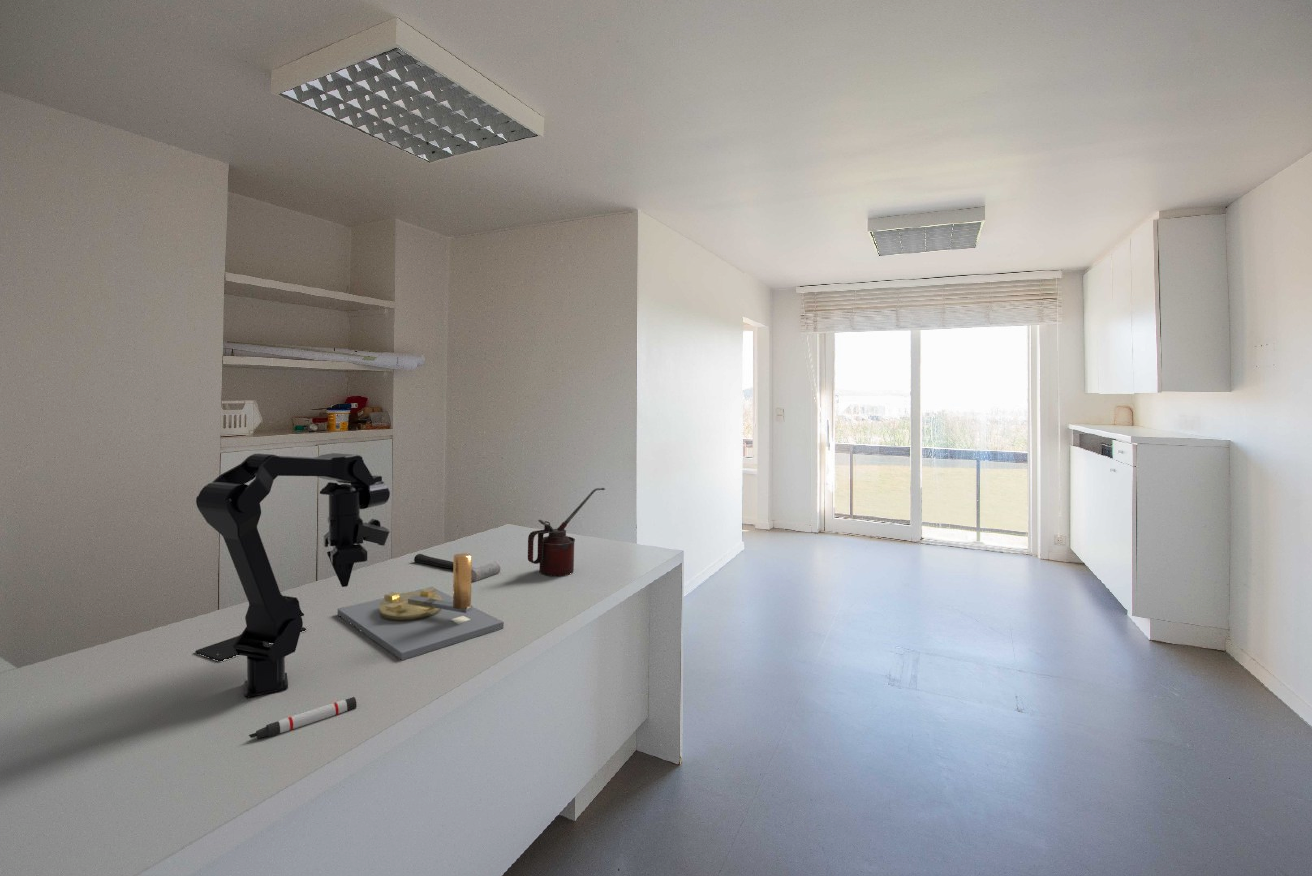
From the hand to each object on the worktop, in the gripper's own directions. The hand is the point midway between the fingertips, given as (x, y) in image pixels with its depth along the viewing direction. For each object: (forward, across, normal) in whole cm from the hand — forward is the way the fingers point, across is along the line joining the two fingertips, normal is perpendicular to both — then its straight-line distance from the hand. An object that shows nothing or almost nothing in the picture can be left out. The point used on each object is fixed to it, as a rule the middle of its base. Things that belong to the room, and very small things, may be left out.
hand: (344, 586), depth 123 cm
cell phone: (+14, +12, +16) cm, 24 cm away
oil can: (+13, +28, -66) cm, 73 cm away
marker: (+14, -29, +9) cm, 33 cm away
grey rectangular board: (+13, +6, -16) cm, 22 cm away
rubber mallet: (+14, +45, -34) cm, 58 cm away
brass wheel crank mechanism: (+11, +7, -18) cm, 22 cm away
